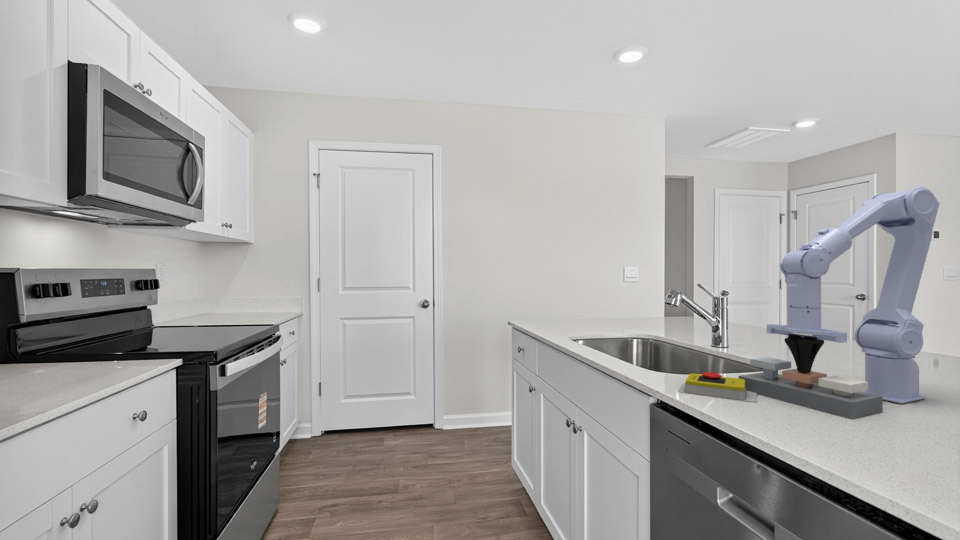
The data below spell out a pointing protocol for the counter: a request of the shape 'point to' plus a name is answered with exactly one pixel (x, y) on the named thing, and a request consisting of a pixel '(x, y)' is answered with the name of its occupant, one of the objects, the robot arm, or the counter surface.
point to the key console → (815, 396)
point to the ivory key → (843, 385)
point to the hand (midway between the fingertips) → (804, 372)
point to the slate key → (770, 366)
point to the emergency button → (717, 387)
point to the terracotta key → (803, 377)
